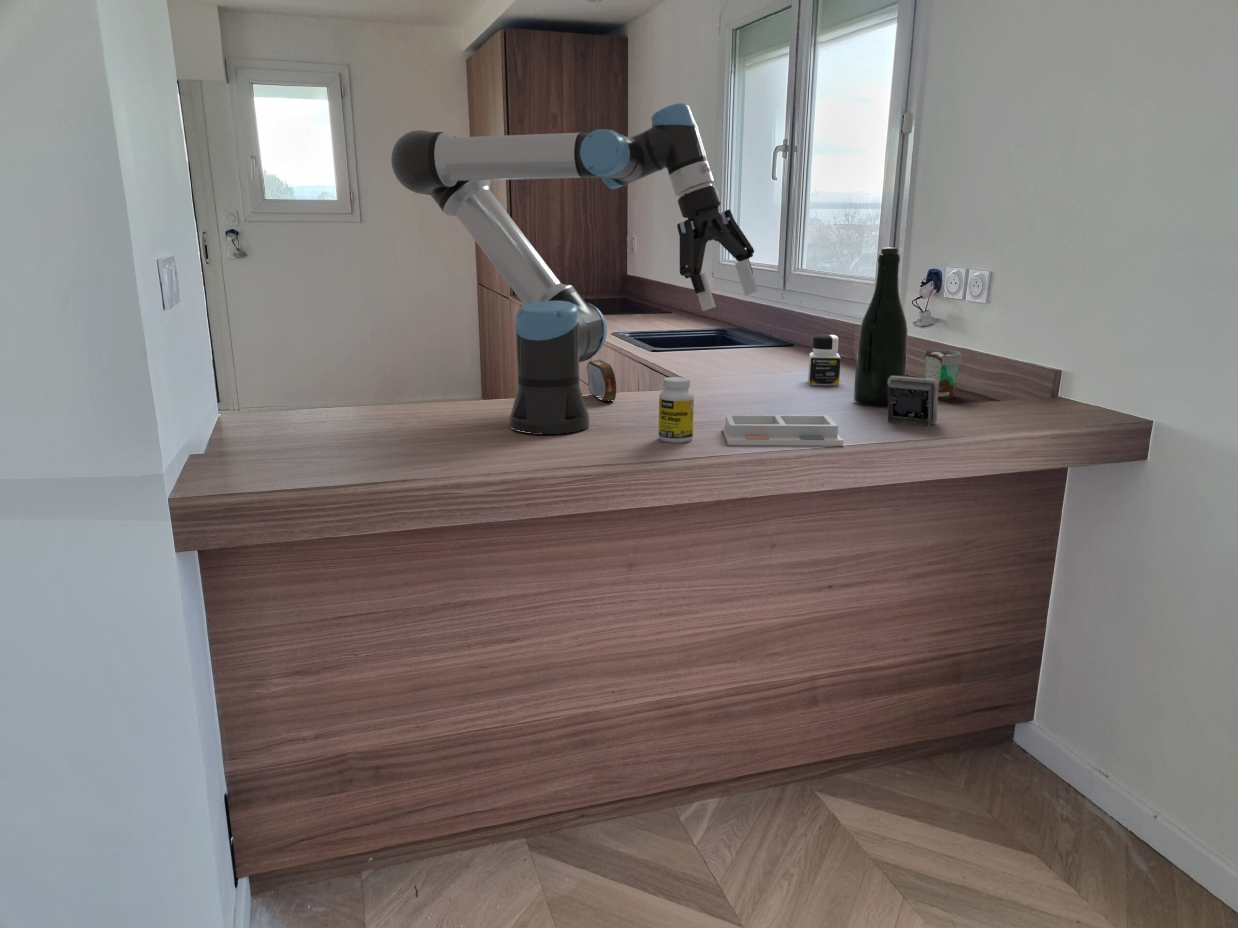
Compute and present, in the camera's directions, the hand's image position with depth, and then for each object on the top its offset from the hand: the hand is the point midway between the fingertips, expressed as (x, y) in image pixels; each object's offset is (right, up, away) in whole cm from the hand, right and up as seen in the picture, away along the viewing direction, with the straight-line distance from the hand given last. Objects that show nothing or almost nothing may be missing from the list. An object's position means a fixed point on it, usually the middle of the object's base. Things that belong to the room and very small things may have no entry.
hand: (731, 301), depth 161 cm
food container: (+53, -16, +33) cm, 64 cm away
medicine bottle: (+30, -11, +51) cm, 60 cm away
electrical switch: (+36, -23, +5) cm, 43 cm away
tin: (-25, -16, +32) cm, 44 cm away
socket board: (+8, -26, -7) cm, 28 cm away
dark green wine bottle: (+35, -18, +25) cm, 47 cm away
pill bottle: (-11, -27, -8) cm, 30 cm away
